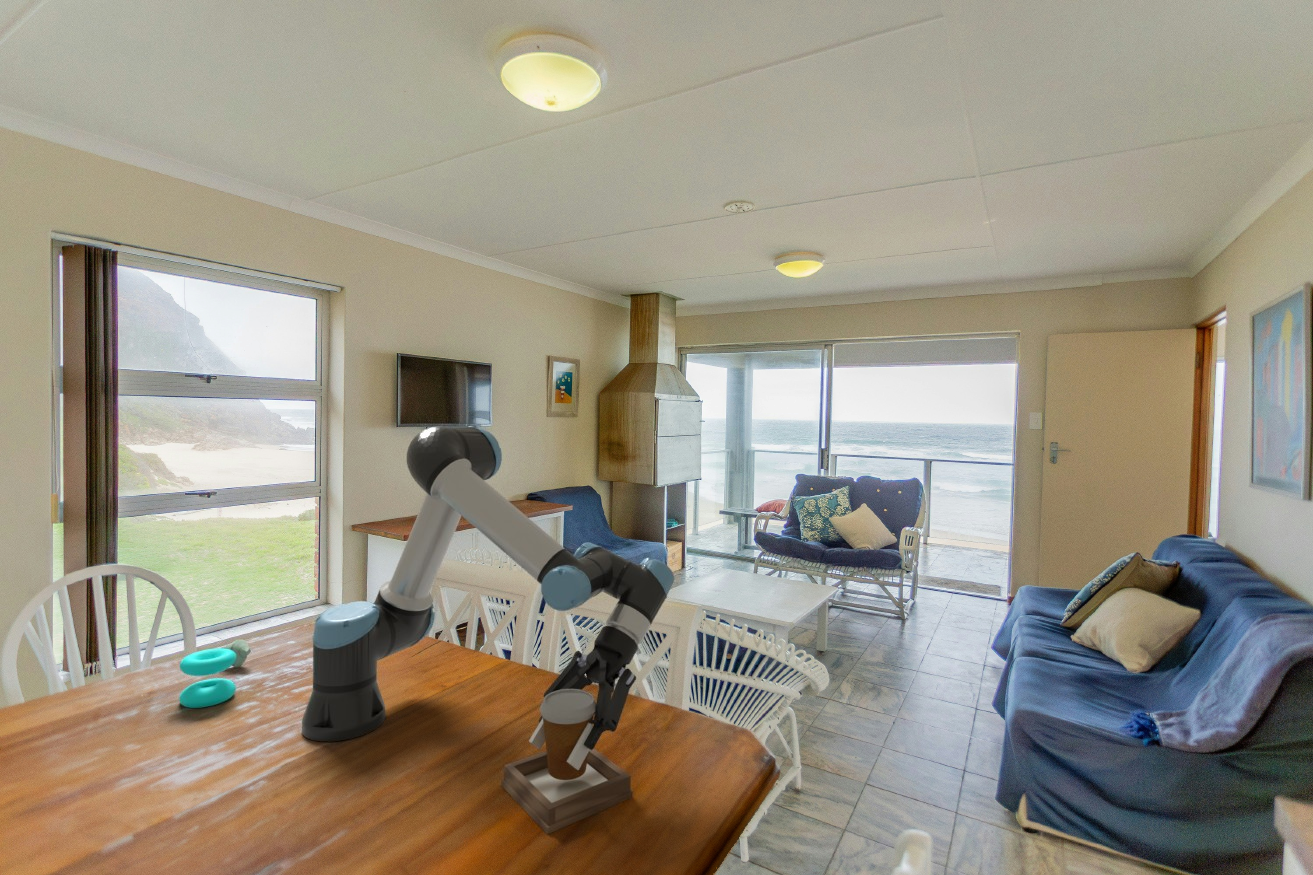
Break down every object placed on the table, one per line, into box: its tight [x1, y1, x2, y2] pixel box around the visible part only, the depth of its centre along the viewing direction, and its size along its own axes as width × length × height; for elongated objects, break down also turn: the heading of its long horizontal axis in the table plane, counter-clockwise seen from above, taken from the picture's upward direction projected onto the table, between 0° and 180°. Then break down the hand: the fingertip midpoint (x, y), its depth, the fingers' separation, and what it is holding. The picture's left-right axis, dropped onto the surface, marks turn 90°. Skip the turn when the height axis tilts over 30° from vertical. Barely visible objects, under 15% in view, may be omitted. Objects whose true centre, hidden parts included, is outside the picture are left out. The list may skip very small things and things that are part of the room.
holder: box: [500, 747, 634, 835], centre depth 105 cm, size 16×16×4 cm
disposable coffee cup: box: [539, 689, 597, 780], centre depth 105 cm, size 10×10×12 cm
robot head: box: [221, 638, 252, 669], centre depth 154 cm, size 8×4×7 cm, turn 76°
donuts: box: [178, 647, 236, 709], centre depth 136 cm, size 10×10×10 cm
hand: (553, 755), depth 102 cm, fingers closed on disposable coffee cup, 9 cm apart
